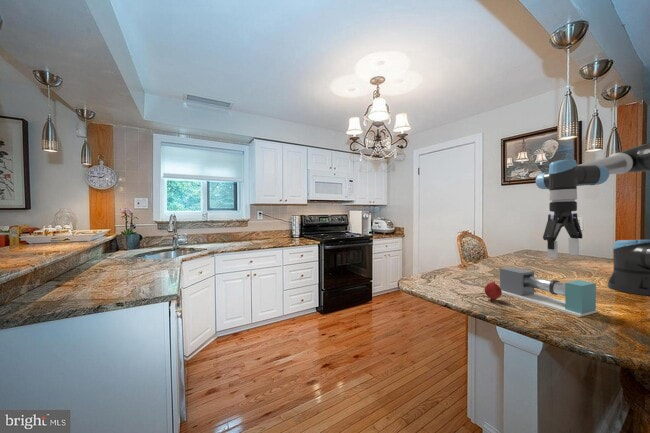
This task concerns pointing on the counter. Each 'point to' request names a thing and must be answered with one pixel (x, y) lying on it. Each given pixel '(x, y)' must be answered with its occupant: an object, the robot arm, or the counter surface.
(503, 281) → the sleeve
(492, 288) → the onion
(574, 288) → the socket
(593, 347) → the counter surface
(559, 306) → the board
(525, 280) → the slip tube
